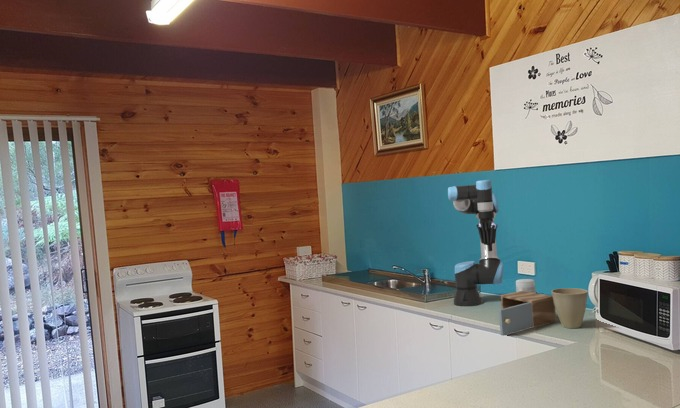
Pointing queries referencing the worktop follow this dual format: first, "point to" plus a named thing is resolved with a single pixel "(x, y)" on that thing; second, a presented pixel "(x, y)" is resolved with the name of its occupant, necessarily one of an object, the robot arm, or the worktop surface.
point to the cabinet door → (515, 318)
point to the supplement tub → (525, 285)
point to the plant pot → (570, 306)
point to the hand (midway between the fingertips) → (489, 257)
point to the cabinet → (533, 305)
